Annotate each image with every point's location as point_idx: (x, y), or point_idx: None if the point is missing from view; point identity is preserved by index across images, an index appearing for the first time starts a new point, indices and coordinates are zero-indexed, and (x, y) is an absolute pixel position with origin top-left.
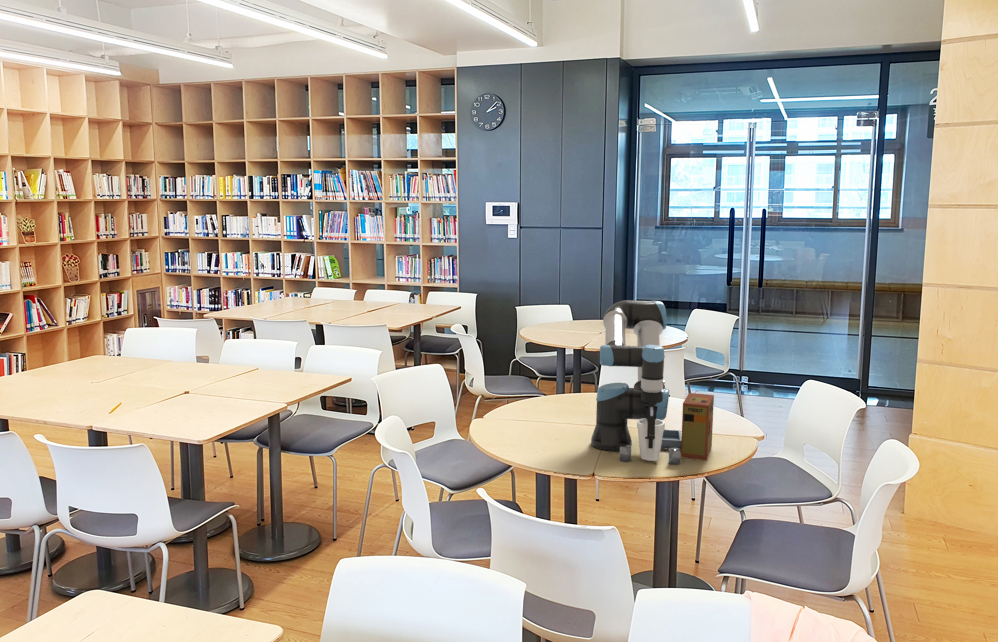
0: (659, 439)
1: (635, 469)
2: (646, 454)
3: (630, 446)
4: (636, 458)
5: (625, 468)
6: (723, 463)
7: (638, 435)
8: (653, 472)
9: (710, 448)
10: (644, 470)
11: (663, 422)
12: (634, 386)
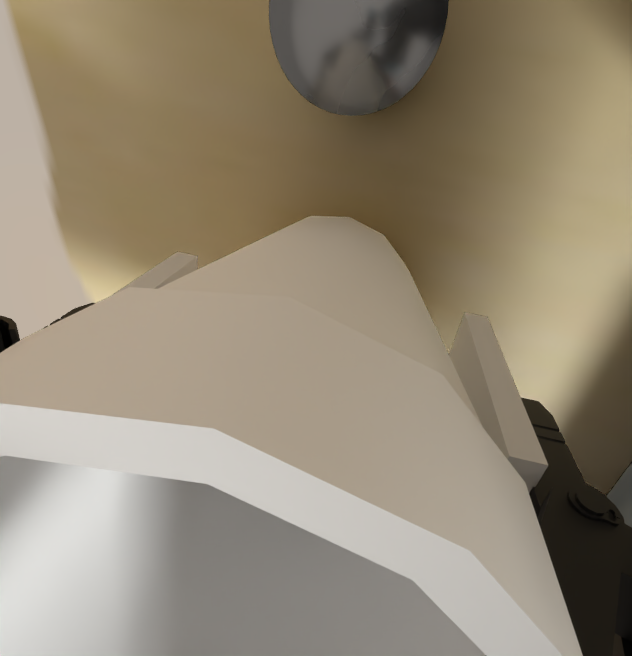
0: (180, 480)
1: (114, 117)
2: (165, 261)
3: (360, 104)
4: (416, 182)
5: (115, 12)
6: None
7: (292, 261)
8: (87, 254)
9: None
10: (111, 194)
11: None
12: None
